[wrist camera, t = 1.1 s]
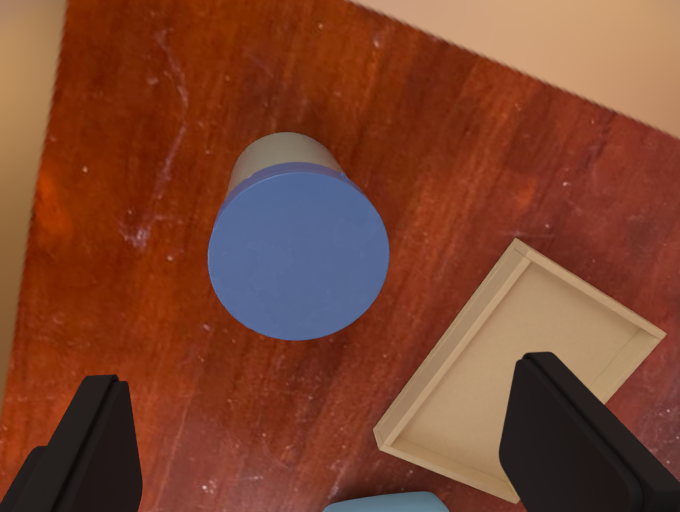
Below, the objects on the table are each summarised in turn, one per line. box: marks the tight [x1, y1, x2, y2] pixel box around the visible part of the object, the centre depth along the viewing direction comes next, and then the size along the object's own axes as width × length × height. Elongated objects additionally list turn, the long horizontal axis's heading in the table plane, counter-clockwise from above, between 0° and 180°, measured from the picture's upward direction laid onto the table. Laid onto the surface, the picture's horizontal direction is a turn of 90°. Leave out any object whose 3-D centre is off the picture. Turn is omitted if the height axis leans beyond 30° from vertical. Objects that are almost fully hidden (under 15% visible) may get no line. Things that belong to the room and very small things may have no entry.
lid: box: [208, 162, 389, 340], centre depth 20 cm, size 7×7×2 cm
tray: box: [373, 238, 666, 504], centre depth 36 cm, size 17×13×2 cm
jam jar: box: [225, 132, 348, 199], centre depth 24 cm, size 7×7×11 cm
